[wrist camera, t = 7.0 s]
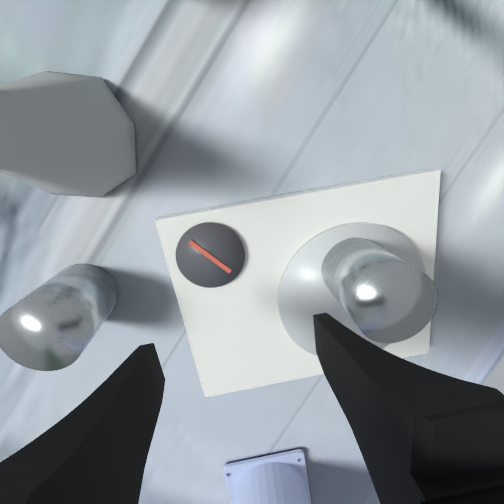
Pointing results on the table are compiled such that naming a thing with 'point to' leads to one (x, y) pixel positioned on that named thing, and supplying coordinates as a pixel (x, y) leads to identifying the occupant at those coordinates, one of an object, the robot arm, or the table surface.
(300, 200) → the scale
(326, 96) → the table surface
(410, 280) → the cylinder
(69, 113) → the flask
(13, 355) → the cylinder
